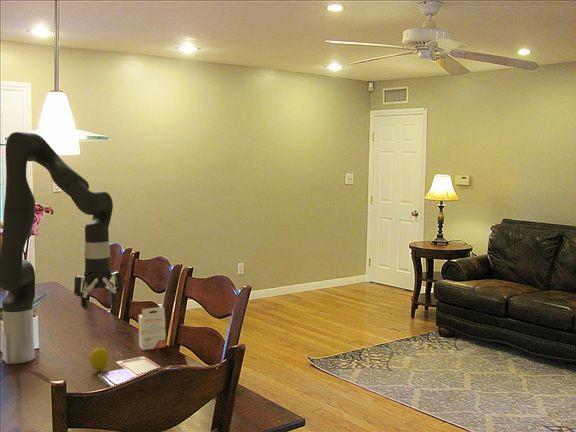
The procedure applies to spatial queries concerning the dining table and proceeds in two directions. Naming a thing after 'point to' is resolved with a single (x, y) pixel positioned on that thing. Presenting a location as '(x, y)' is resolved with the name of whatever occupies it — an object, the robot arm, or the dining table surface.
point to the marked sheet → (138, 365)
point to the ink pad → (116, 376)
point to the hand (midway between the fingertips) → (98, 306)
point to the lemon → (99, 358)
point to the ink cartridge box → (152, 329)
